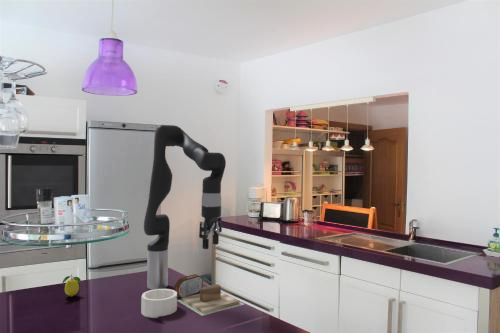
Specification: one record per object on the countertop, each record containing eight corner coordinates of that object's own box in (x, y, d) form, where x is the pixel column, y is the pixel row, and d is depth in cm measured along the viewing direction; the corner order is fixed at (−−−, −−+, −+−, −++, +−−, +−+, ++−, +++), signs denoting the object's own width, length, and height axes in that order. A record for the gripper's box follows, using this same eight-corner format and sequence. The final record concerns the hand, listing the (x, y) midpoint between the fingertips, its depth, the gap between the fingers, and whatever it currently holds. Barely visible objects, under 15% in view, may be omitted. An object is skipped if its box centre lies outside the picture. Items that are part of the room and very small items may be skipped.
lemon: (61, 299, 163) (61, 275, 163) (63, 295, 169) (63, 272, 169) (79, 298, 165) (79, 274, 165) (80, 293, 171) (80, 270, 171)
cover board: (181, 300, 162) (181, 285, 162) (216, 292, 172) (216, 278, 172) (203, 313, 148) (203, 297, 148) (239, 303, 159) (239, 288, 159)
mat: (176, 301, 162) (176, 300, 162) (217, 292, 174) (217, 291, 174) (201, 317, 146) (201, 315, 146) (244, 305, 159) (244, 304, 159)
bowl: (136, 309, 153) (136, 293, 153) (167, 302, 161) (167, 286, 161) (150, 320, 143) (150, 302, 143) (182, 312, 151) (182, 295, 151)
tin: (199, 290, 177) (199, 271, 177) (204, 292, 175) (204, 273, 175) (173, 299, 165) (173, 279, 165) (178, 301, 163) (178, 280, 163)
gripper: (211, 202, 159) (210, 241, 159) (193, 205, 146) (192, 249, 146) (228, 203, 156) (227, 243, 157) (211, 207, 143) (211, 251, 143)
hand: (210, 246), depth 151 cm, fingers open, 8 cm apart
